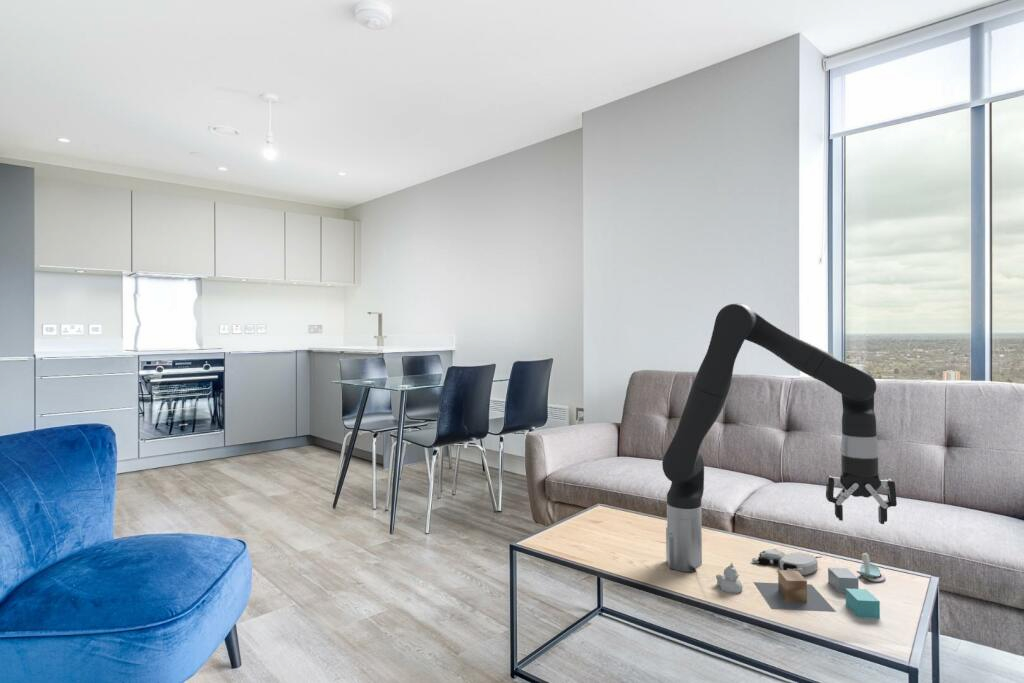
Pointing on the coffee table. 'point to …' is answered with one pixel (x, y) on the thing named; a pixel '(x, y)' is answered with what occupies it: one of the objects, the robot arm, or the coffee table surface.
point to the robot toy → (789, 561)
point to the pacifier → (870, 569)
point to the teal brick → (863, 603)
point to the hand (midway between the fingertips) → (860, 521)
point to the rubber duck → (729, 580)
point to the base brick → (792, 586)
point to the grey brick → (842, 579)
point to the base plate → (779, 602)
